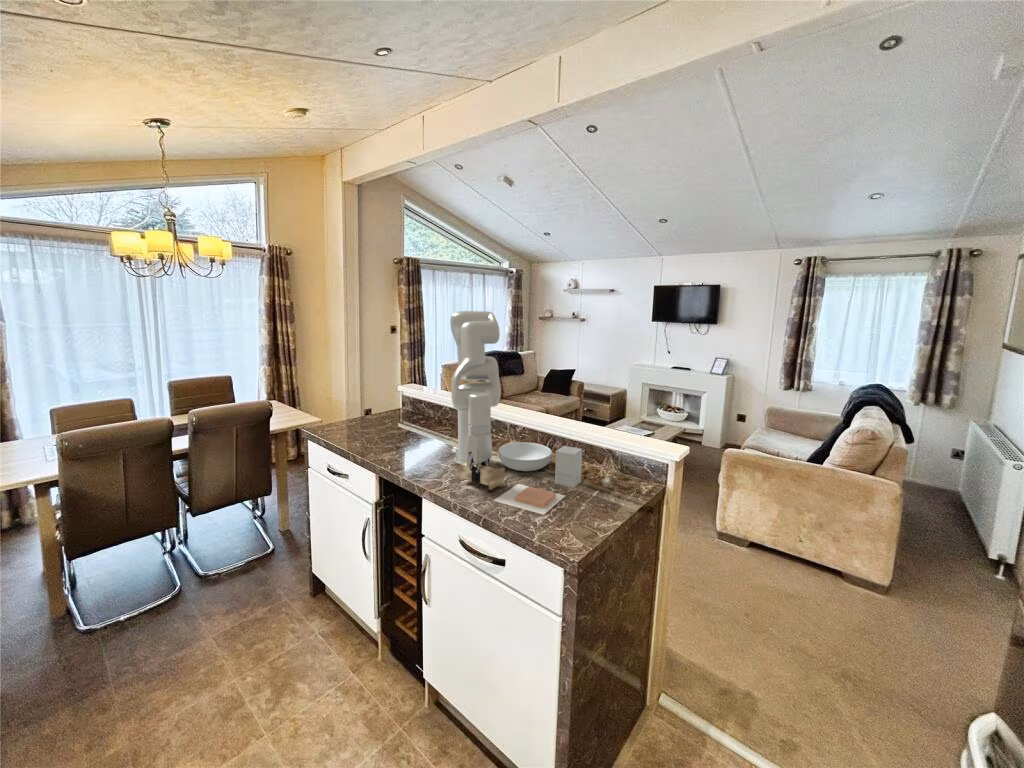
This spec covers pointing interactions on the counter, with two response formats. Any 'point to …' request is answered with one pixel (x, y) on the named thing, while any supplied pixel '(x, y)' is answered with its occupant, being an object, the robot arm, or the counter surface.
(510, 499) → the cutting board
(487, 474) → the tall beige plank
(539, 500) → the tile
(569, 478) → the supplement box
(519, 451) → the serving bowl
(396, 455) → the counter surface
